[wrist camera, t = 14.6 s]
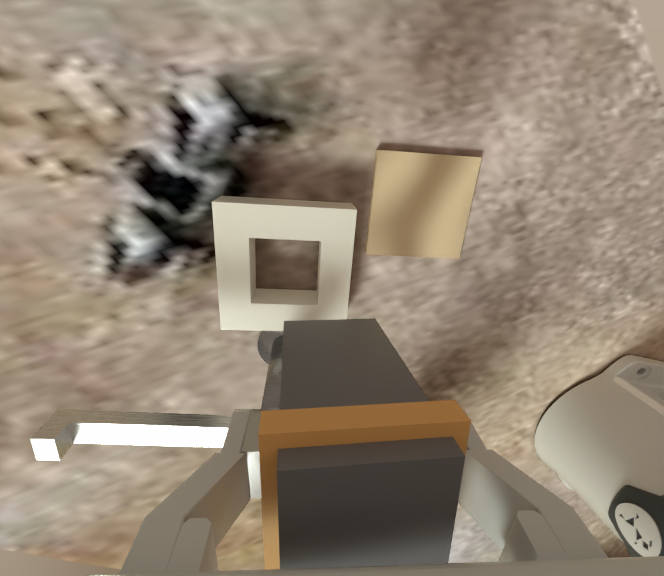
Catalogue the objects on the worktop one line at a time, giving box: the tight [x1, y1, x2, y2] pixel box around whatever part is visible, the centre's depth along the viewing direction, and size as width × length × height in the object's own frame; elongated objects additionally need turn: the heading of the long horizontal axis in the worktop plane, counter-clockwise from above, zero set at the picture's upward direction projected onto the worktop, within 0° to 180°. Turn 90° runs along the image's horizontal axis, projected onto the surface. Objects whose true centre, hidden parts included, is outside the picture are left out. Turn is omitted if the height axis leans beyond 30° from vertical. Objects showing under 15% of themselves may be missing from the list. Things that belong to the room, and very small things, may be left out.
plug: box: [258, 319, 471, 570], centre depth 11 cm, size 5×5×8 cm
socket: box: [212, 196, 357, 331], centre depth 26 cm, size 10×10×3 cm
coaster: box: [365, 150, 482, 258], centre depth 27 cm, size 8×8×1 cm
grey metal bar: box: [30, 408, 280, 461], centre depth 20 cm, size 15×3×2 cm, turn 83°
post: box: [258, 331, 283, 409], centre depth 26 cm, size 5×5×10 cm
